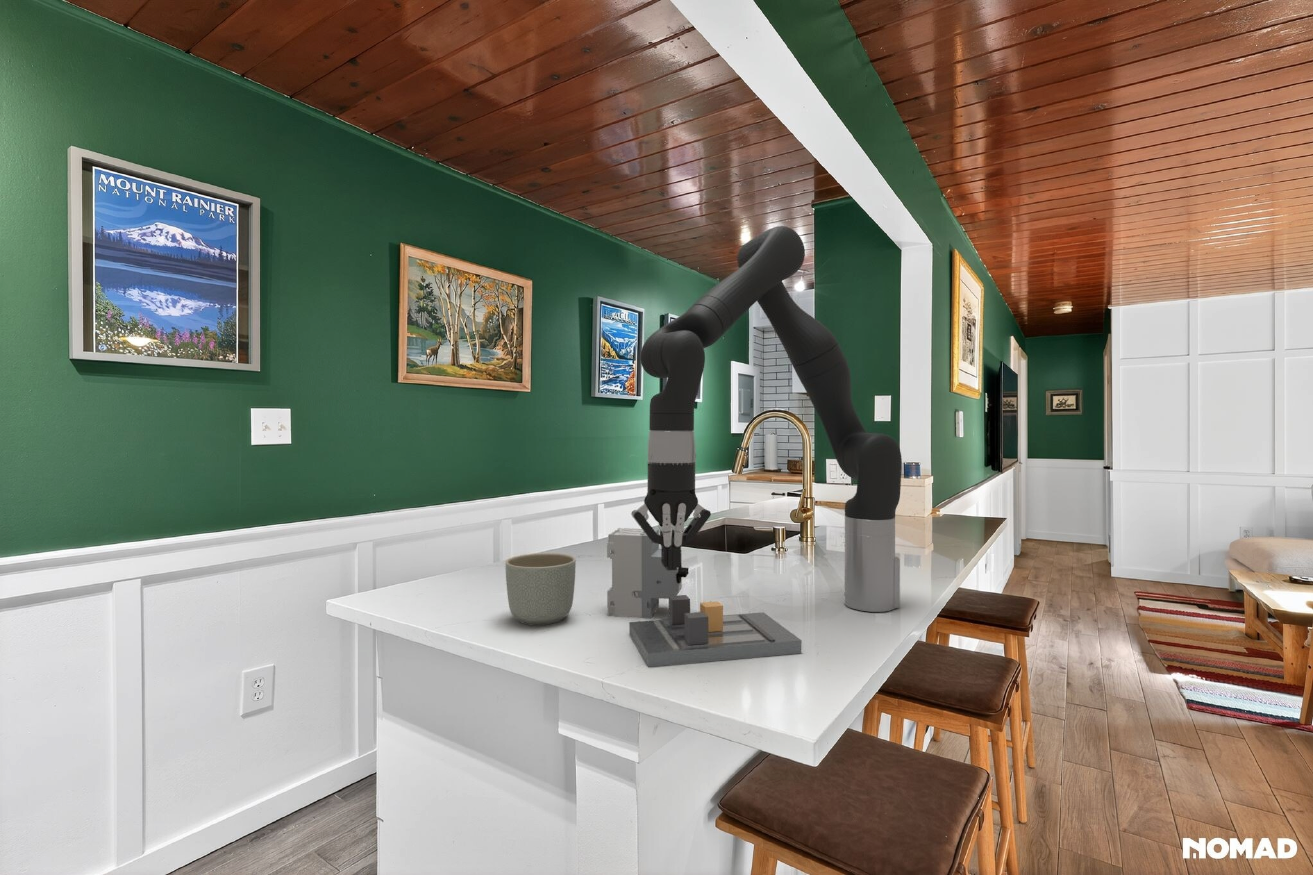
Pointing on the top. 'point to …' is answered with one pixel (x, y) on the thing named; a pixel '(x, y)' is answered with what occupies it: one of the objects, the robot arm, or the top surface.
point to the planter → (540, 587)
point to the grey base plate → (713, 640)
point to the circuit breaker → (639, 574)
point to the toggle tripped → (713, 615)
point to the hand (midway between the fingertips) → (670, 569)
